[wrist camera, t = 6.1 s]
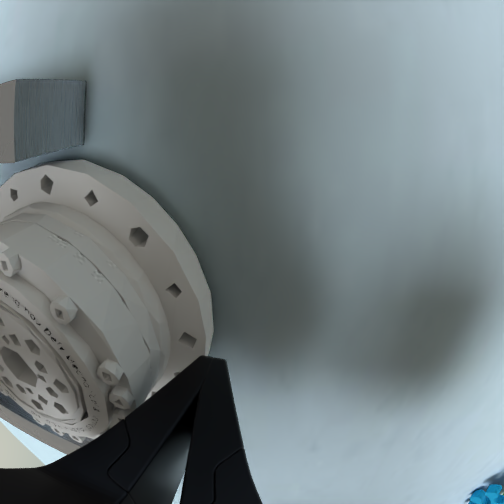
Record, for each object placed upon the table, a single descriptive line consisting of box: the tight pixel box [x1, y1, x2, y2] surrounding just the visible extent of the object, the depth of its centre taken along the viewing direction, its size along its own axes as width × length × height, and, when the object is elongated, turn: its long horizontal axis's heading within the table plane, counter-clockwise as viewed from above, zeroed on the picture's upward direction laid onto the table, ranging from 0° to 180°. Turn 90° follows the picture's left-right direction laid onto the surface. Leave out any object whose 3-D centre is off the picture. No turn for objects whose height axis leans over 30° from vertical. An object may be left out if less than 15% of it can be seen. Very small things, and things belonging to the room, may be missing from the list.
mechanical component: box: [0, 159, 214, 443], centre depth 9 cm, size 10×4×10 cm
